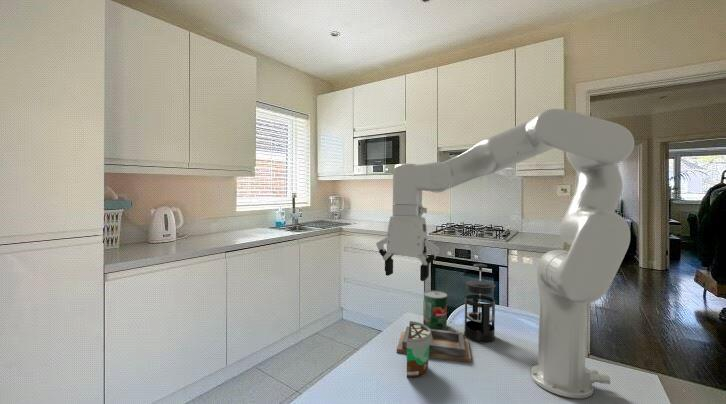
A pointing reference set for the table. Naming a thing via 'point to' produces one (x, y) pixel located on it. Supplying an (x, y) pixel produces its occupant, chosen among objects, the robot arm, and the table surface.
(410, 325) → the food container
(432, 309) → the canned tomato
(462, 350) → the wooden tray
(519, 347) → the table surface
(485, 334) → the french press
